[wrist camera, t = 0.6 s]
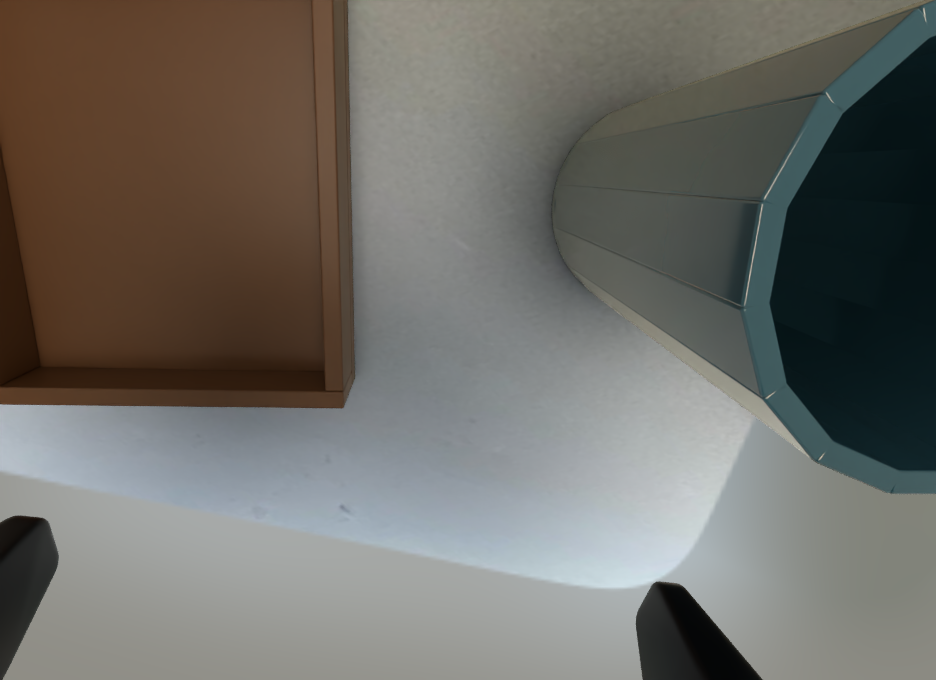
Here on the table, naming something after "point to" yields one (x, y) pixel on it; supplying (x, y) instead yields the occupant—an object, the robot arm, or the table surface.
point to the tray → (175, 203)
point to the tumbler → (783, 239)
